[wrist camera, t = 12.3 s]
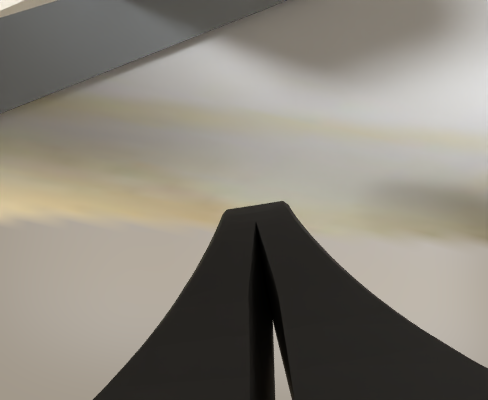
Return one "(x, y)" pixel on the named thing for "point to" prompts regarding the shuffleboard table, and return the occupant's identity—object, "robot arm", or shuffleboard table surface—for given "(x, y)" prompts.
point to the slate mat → (98, 38)
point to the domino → (19, 5)
